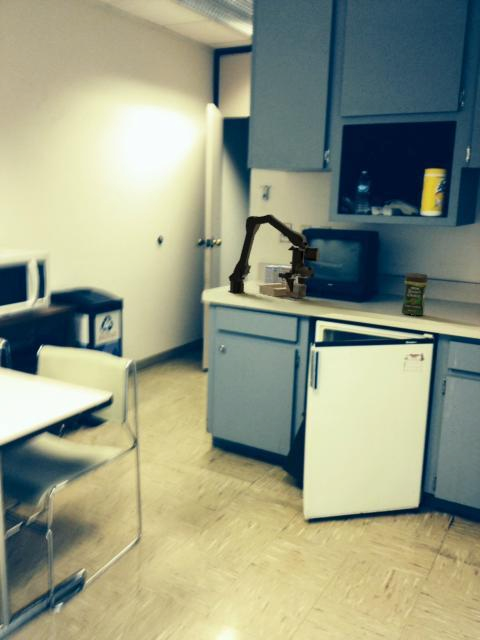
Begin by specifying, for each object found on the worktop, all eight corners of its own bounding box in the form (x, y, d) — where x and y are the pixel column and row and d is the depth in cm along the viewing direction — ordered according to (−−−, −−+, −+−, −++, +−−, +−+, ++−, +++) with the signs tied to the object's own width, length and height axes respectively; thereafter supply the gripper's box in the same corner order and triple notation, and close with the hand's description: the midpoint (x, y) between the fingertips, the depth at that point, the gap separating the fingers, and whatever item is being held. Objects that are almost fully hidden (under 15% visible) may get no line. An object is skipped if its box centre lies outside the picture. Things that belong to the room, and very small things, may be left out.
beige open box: (277, 297, 309) (277, 289, 308) (255, 291, 324) (256, 284, 323) (300, 295, 317) (300, 287, 317) (278, 290, 332) (279, 282, 331)
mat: (293, 300, 301) (293, 299, 301) (281, 297, 308) (282, 296, 308) (309, 299, 307) (309, 298, 307) (297, 296, 314) (297, 295, 314)
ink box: (278, 287, 341) (280, 266, 339) (280, 286, 346) (282, 265, 343) (294, 289, 339) (295, 267, 336) (296, 287, 343) (297, 266, 341)
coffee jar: (399, 314, 276) (403, 273, 272) (403, 312, 283) (407, 271, 279) (421, 317, 271) (426, 275, 268) (425, 314, 278) (429, 273, 275)
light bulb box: (276, 283, 359) (277, 264, 357) (285, 284, 355) (286, 265, 353) (263, 284, 352) (264, 265, 350) (272, 286, 347) (273, 266, 345)
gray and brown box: (297, 298, 302) (298, 285, 301) (285, 295, 309) (286, 282, 308) (305, 297, 305) (306, 285, 304) (293, 294, 312) (294, 282, 311)
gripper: (293, 262, 292) (291, 295, 295) (323, 261, 302) (320, 293, 306) (278, 259, 301) (276, 291, 304) (308, 259, 311) (306, 289, 315)
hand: (295, 291), depth 307 cm, fingers closed on gray and brown box, 5 cm apart
